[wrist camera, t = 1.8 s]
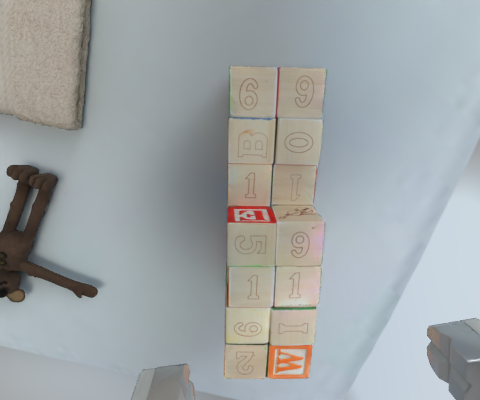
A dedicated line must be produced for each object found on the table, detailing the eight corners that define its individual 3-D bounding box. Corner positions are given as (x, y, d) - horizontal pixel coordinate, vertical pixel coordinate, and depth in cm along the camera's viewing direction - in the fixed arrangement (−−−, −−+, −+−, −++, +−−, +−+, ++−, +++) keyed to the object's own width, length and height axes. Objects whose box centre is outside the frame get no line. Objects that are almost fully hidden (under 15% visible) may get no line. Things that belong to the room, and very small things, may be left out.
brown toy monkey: (125, 215, 28) (70, 347, 30) (137, 205, 32) (88, 321, 34) (-85, 127, 25) (-129, 279, 27) (-42, 129, 29) (-83, 260, 32)
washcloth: (106, -99, 24) (89, -128, 21) (88, 133, 29) (72, 136, 26) (-57, -144, 23) (-100, -182, 20) (-47, 105, 28) (-80, 104, 25)
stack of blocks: (230, 77, 28) (229, 54, 16) (299, 79, 28) (349, 59, 16) (225, 286, 34) (222, 382, 22) (282, 287, 34) (310, 382, 22)
